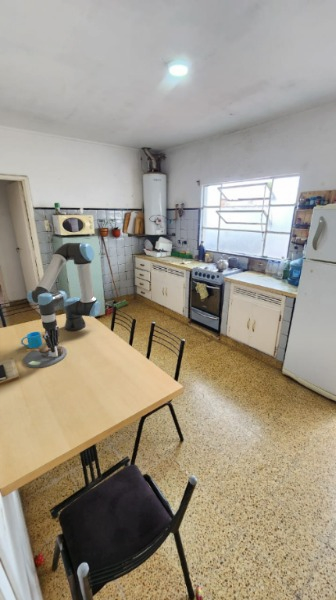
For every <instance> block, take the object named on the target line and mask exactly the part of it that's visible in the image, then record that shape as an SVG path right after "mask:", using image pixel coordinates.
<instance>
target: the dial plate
mask: <svg viewBox="0 0 336 600" xmlns="http://www.w3.org/2000/svg"><path fill="white" fill-rule="evenodd" d="M57 347H62V348H63V354H62V355H58V356H57V357H53V356H52V352H51V351H48V352H46V353H40V352H39V351H28V353H27V354H26V355H24V357H23V360H22V361H23V364H24V365H25V366H26V367H28V368H33V369H39V368H40V369H41V368H47V367H50V366H54V365H56V364H57V363H60V362H61V361H63V360H64V359H65V358H66V356H67V352H68V351H67V348H66V347H64V346H63V345H59V344H58V346H57ZM39 348H40V347H38V348H36V349H39Z"/></svg>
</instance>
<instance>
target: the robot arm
mask: <svg viewBox="0 0 336 600" xmlns="http://www.w3.org/2000/svg"><path fill="white" fill-rule="evenodd" d="M51 258H52V259H51V261H50V263H49V264H48V267H46V269H45V271H44V273H43V275H42V277H41V279H40V280H39V282H38V283H37V285H36V287H35V289H33V290H29V291H28V292H27V294H26V298H27V301H28V302H29V303H31V304H32V303H33V304H38V308H39V312H40V318H41V319H40V320H41V324H42V328H43V329H44V332H45V334H44V335H42V339H44V340H45V344H46V346H48V348H51V352H52V356H53V357H57V356H58V352H57V346H58V345H59V327H60V326H58V321H57V316H56V310H55V308H56V307H58V306H60V305H61V304H63V306H64V308H63V309H64V315H65V324H64V329H65V330H66V331H67V332H69V331H70V332H75V331H80V330H83V329H84V328H85V327H86V321H85V319H84V317H90V318H91V317H97V316H98V315H99V313H100V311H101V302H100V301H98V299H97V297H96V296H94V287H93V278H92V271H91V264H92V261H93V260H94V258H95V251H94V248H93V246H92V245H91V244H89V243H84V242H65V243H64V244H62V245H60V246H59V247H58V248H56V250H55V251H54V252H53V254H52V255H51ZM69 261H73V264H74V265H75V266H76V269H77V274H78V275H77V276H78V283H79V287H80V289H79V290H80V294H81V298H80V297H78V296H74V297H69V298H68V294H67V292H65V291H64V290H56V291H51V289H52V287H53V285H54V284H55V281H56V280H57V278H58V276H59V274H60V272H61V270H62V268H63V267H64V265H66V264H67V262H69ZM83 316H84V317H83Z"/></svg>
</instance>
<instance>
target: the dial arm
mask: <svg viewBox="0 0 336 600" xmlns="http://www.w3.org/2000/svg"><path fill="white" fill-rule="evenodd" d="M62 347H63V346H62ZM62 347H57V352H58V355H62V354H63V348H62ZM38 348H39V349H37V348H29V349H26V350H25V351H26V352H31V351H39V352H40V353H46V352H48V351H51V348H48V346H47V345H44V346H42V345H41V346H40V347H38Z"/></svg>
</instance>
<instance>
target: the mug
mask: <svg viewBox="0 0 336 600" xmlns="http://www.w3.org/2000/svg"><path fill="white" fill-rule="evenodd" d="M41 335H42V334H41V332H40V331H31V332H29V333H27V334H26V336H24V337H23V338H22V339H21V340H20V343H21V345H23V346H24V347H28V348H29V349H37V348H40V347H42V345H43V340H42V339H43V338H42V336H41ZM25 339H26V340H27V344H26V343H24V340H25Z"/></svg>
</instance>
